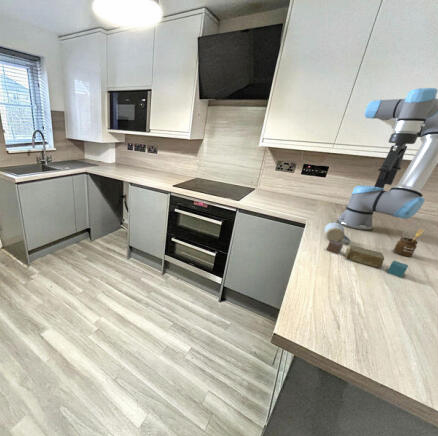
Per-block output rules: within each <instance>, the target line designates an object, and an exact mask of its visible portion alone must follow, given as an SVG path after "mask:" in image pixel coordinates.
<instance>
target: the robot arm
mask: <svg viewBox="0 0 438 436" xmlns="http://www.w3.org/2000/svg"><path fill="white" fill-rule="evenodd" d="M437 94H438V88H435V87H420V88H414V89H411V90H409V91H408V93H407V95H406V97H405V98H398V99H397V98H396V99H395V98H394V99H378V100H377V99H376V100H372V101H370V102H368V104H367V105H366V107H365V110H364V117H365V118H366V119H372V120H373V119H377V120H380V121H381V122H383V123H385V124H387V125H389V126H390V127H391V129H392V132H393V133H391V134H390V137H389V139H388V144H394V145H391V146H390V149H389V151H388V153H387V155H386V157H385V159H384V161H383V163H382V164H381V166H380V167H379V168H378V171H379V174H378V176H377V179H376V181H375V183H374V185H357V186H355V187H354V188H353V190H352V192H351V195H350V198H349V199H348V203H347V206H346V209H345V210H344V211H343V212H342V214H340V216H339V217H338V219H337V223H339V224H341V225H342V226H343V227H347V228H350V229H354V230H360V231H371V230H372V228H373V214H374V212H375V213H379V214H383V215H386V216H389V217H390V216H391V217H394V218H399V219H403V220H407V219H410V218H412V217H414V216H415V215H416V214H417V213H418V211H420V209H421V208H422V206H423V204H424V203H425V198H424V197H423V196H424V194H423V192H422V191H421V190H422V189H423V187H424V186H425V184H426V182H427V181H428V179H429V178H430V177H431V175H432V173H433V171H434V170H435V168H436V166H437V165H438V98H437ZM418 138H420V141H421V144H420V147H418V150H417V151H416V153H415V155H414V156H413V157H412V159H411V161H410V163H409V164H408V167H407V168H406V170H405V171H404V173H403V175H402V176H401V178H400V180H399V182H398V183H397V184H396V185H395V186H392V184H393V182H394V180H395V177H396V175H397V173H398V171H400V170H401V169H402V167H401V165H402V163H403V159H404V156H405V154H406V151H407V148H408V145H414V144H416V142H417V139H418ZM386 185H387V186H388V185H389V186H391V188H390V189H389V190H385V186H386Z"/></svg>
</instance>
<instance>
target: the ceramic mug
mask: <svg viewBox="0 0 438 436" xmlns="http://www.w3.org/2000/svg"><path fill="white" fill-rule="evenodd" d="M324 235H325V237H326V239H327V240H329V242H330V241H332V240H334V241H337V242H340V241H341V242H342V243H343V244H350V243H351V242H352V240H351V239H350V237H348V236H347V235H346V234H345V226H344V225H341V224H340V223H338V222H336V221H335V222H330V223H329V222H328V224H326V225H325V226H324Z"/></svg>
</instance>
